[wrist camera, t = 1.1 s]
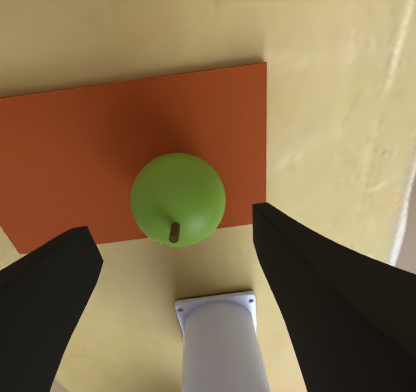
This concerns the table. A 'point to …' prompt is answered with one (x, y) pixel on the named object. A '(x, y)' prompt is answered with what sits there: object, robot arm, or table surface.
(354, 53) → the table surface
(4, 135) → the cloth
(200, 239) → the apple
